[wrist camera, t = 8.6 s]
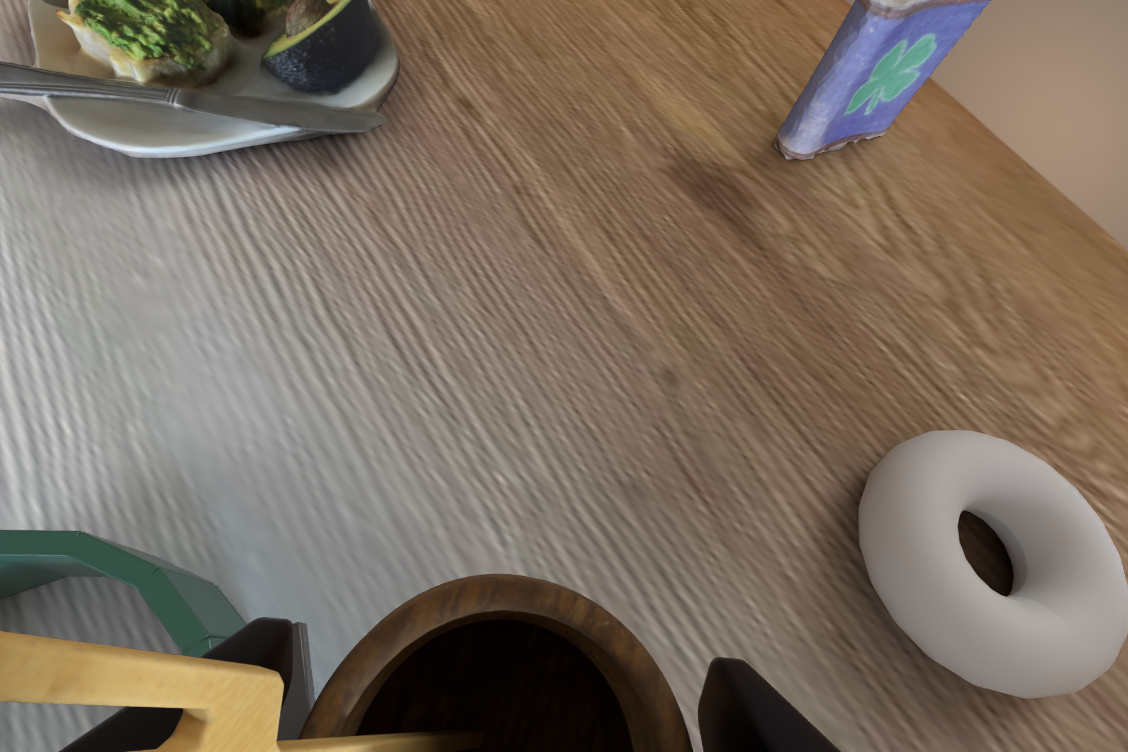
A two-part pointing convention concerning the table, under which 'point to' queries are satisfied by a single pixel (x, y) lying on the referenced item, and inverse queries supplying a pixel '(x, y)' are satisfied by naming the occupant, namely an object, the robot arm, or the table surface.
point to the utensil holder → (398, 681)
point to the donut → (1036, 549)
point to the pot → (150, 598)
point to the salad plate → (205, 71)
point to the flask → (872, 71)
